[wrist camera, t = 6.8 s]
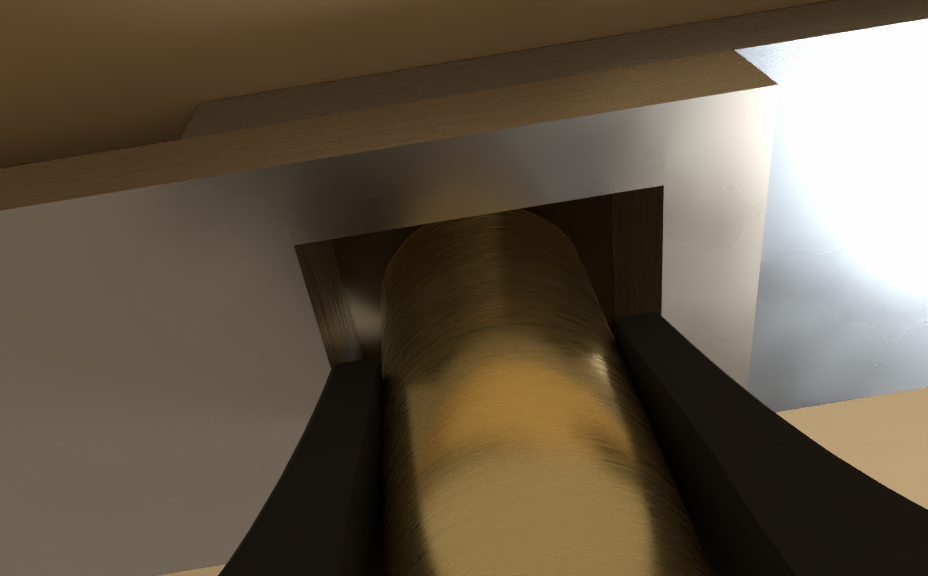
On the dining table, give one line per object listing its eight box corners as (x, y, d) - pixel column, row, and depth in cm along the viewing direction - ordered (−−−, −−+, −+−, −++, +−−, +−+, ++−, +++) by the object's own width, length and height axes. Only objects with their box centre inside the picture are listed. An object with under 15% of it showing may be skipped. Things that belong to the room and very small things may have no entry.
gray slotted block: (1176, -55, 13) (1373, -12, 10) (1040, 316, 17) (1155, 410, 14) (-285, 181, 12) (-450, 283, 10) (-49, 494, 17) (-123, 621, 14)
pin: (471, 404, 15) (548, 905, 8) (337, 294, 13) (299, 812, 7) (623, 297, 14) (850, 774, 7) (498, 162, 12) (645, 624, 6)
